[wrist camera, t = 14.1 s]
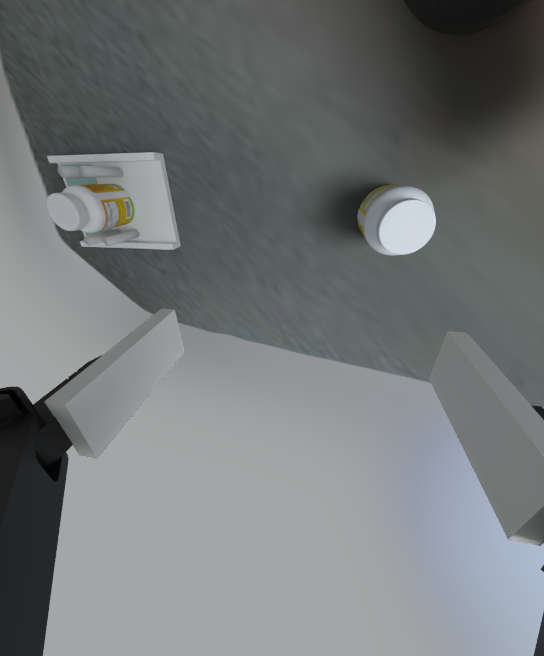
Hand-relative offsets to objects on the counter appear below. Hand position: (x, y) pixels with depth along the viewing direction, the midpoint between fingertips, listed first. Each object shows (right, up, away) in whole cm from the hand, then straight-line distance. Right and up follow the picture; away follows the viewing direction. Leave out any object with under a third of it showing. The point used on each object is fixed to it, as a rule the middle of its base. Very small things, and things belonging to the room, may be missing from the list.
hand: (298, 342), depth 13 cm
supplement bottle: (-24, +19, +25) cm, 39 cm away
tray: (-24, +19, +25) cm, 40 cm away
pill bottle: (+13, +15, +20) cm, 28 cm away
